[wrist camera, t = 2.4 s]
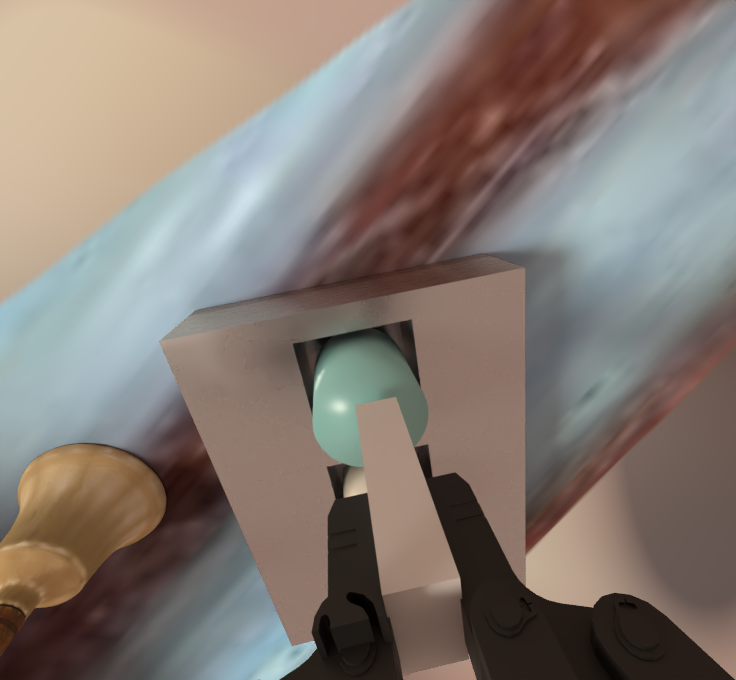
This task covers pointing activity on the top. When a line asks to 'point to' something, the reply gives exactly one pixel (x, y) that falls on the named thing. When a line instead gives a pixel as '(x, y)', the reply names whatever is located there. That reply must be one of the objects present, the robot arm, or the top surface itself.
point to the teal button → (361, 390)
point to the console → (295, 406)
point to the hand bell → (72, 525)
